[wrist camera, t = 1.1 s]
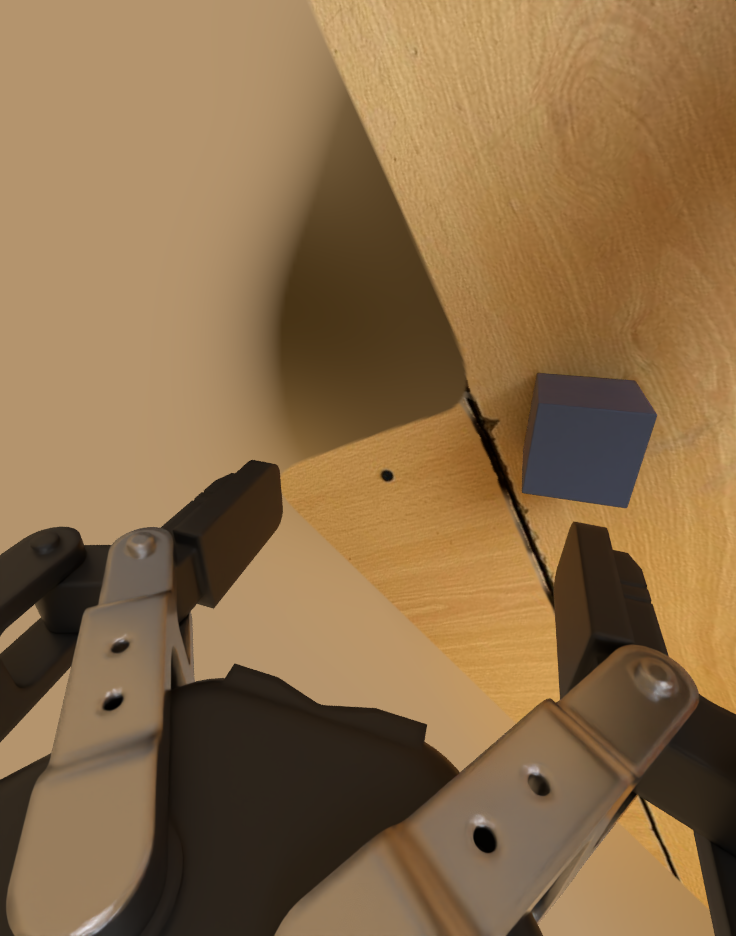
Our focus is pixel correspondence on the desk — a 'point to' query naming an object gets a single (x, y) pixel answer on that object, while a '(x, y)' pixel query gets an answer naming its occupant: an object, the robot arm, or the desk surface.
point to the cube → (586, 439)
